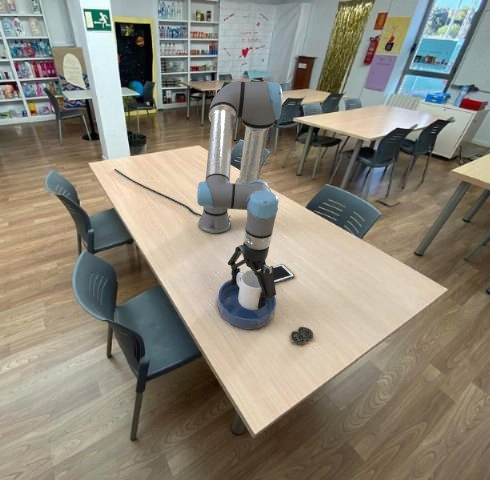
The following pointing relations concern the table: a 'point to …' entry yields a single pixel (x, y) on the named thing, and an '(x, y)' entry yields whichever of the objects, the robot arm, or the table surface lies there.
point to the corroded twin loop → (302, 335)
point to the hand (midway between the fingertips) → (247, 294)
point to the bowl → (242, 309)
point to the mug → (248, 290)
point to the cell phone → (281, 273)
